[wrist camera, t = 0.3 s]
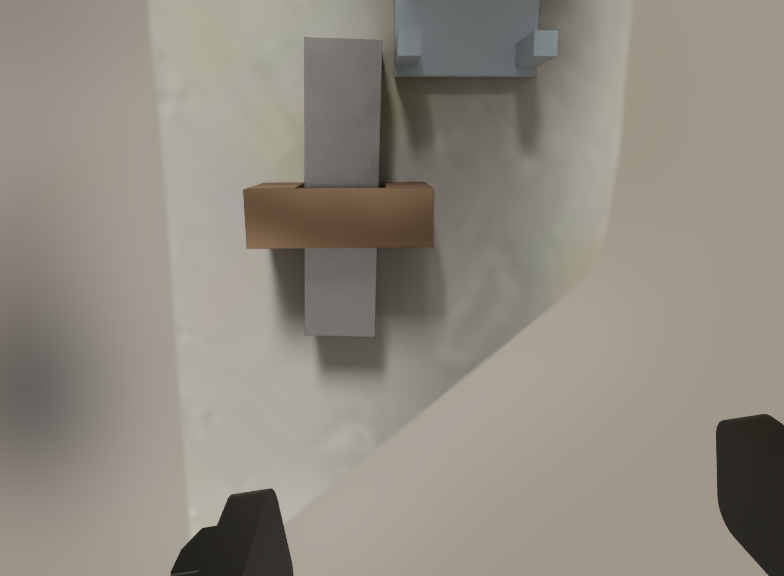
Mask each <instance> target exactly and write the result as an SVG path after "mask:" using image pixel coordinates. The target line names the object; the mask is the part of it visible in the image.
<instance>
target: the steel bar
mask: <svg viewBox="0 0 784 576" xmlns="http://www.w3.org/2000/svg"><path fill="white" fill-rule="evenodd" d="M381 72H382V40H361V39H335V38H309V37H304V124H305V188H378V186H379V148H380V110H381ZM376 262H377V248H305V335H315V336H360V337H375V300H376Z"/></svg>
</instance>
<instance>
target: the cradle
mask: <svg viewBox="0 0 784 576" xmlns="http://www.w3.org/2000/svg"><path fill="white" fill-rule="evenodd" d="M539 3H540V0H394V77H489V78H531V77H534V76H536V66H538V65H540V64H542V63H544V62H546V61H548V60H550V59H552V58H554V57H556V56H557V50H558V32H559V30H538V23H539Z"/></svg>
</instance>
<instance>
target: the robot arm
mask: <svg viewBox="0 0 784 576" xmlns="http://www.w3.org/2000/svg"><path fill="white" fill-rule="evenodd" d="M716 454H717V494H718V504H719V508H720V512H721V515H722V517H723V520H724V522H725V524H726V526H727V527H728V529H729V531H730V532H731V534H732V535H733V536H734V537H735V539H736V540H737V541H738V542H739V543H740V544H741V545H742V546H743V547H744V549H745V550H746V551H747V552H748V553H749V554H750V555H751V556H752V558H753V559H754V560H755V561H756V562H757V563H758V564H759V565H760V566H761V568H762V569H763V570H764V571H765V572H766V573H767V574H768V575H769V576H784V425H783V424H782V423H780V422H779V421H777V420H776V419H774V418H773V417H771V416H770V415H767V414H761V415H754V416H748V417H741V418H735V419H729V420H723V421H721V422H719V424H718V426H717V430H716ZM171 576H293V567H292V561H291V556H290V552H289V548H288V543H287V539H286V535H285V530H284V526H283V521H282V517H281V513H280V508H279V504H278V500H277V496H276V494H275V492H274V490H273V489H264V490H258V491H251V492H245V493H238V494H232V495H230V496H229V498H228V500H227V502H226V505H225V507H224V510H223V512H222V515H221V517H220V520H219V522H218V524H217V526H213V527H206V528H202V529H201V530H200V531H199V532H198V533H197V534H196V535H195V536H194V537H193V538H192V539H191V540H190V541H189V542H188V543H187V544H186V545H185V546H184V547H183V548H182V549H181V551H180V554H179V556H178V558H177V560H176V562H175V564H174V566H173V569H172V571H171Z"/></svg>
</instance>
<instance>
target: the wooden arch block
mask: <svg viewBox="0 0 784 576" xmlns="http://www.w3.org/2000/svg"><path fill="white" fill-rule="evenodd" d="M243 194H244V211H245V229H246V246H247V249H277V248H424V247H433V213H434V189H433V188H432V187H430V186H429V185H428V184H426V183H425V182H385V188H305V183H262V184H259V185H256V186H253V187H250V188H247V189H244V190H243Z"/></svg>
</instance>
